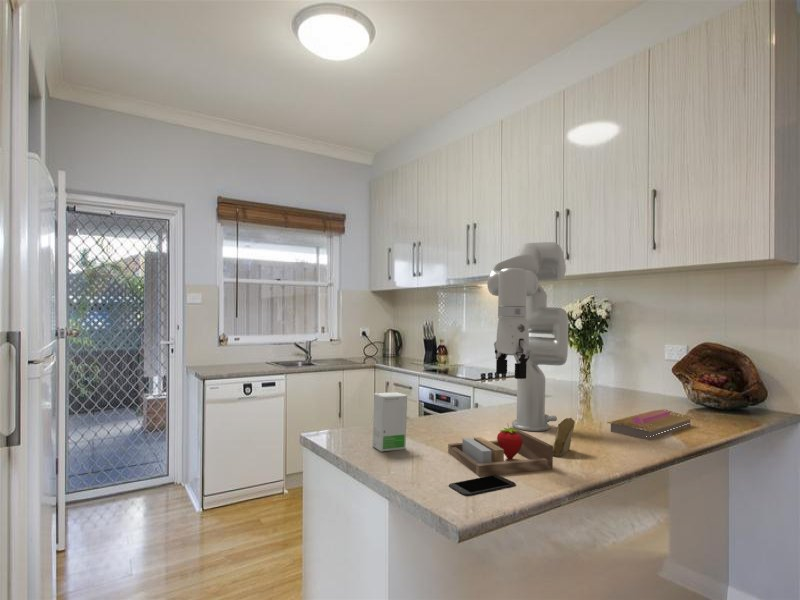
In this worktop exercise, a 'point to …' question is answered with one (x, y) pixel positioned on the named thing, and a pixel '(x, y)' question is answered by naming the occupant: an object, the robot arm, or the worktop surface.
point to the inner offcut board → (496, 451)
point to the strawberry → (509, 442)
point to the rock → (563, 437)
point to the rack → (531, 449)
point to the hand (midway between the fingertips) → (510, 376)
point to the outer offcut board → (476, 451)
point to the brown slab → (650, 424)
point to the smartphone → (481, 485)
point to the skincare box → (389, 421)
